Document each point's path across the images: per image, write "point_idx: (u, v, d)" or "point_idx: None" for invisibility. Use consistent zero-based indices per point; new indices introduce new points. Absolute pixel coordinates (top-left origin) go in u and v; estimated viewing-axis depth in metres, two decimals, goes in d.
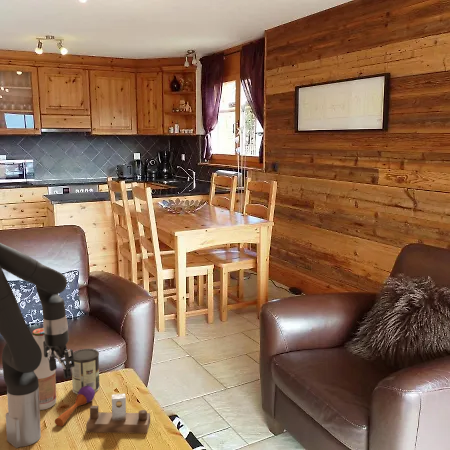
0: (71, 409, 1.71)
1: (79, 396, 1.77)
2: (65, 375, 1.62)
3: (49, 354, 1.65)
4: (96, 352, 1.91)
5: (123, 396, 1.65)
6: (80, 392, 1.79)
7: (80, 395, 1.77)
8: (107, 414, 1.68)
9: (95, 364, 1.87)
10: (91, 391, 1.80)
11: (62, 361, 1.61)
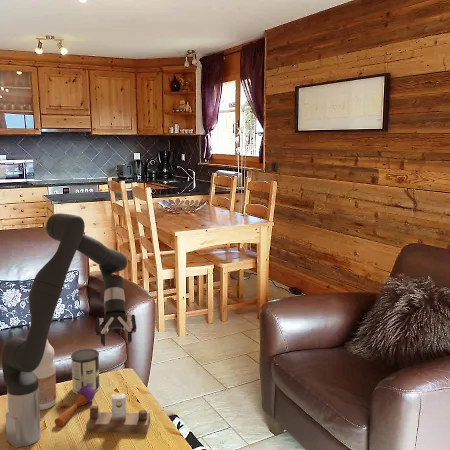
0: (71, 409, 1.71)
1: (79, 396, 1.77)
2: (129, 338, 1.75)
3: (108, 324, 1.75)
4: (96, 352, 1.91)
5: (123, 396, 1.65)
6: (80, 392, 1.79)
7: (80, 395, 1.77)
8: (107, 414, 1.68)
9: (95, 364, 1.87)
10: (91, 391, 1.80)
11: (127, 325, 1.77)
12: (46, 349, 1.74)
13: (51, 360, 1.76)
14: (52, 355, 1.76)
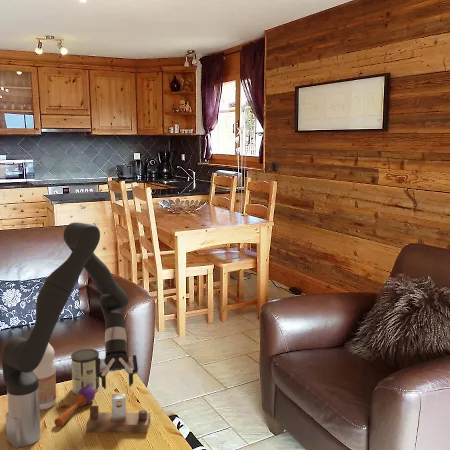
0: (71, 409, 1.71)
1: (79, 396, 1.77)
2: (131, 380, 1.71)
3: (109, 366, 1.71)
4: (96, 352, 1.91)
5: (123, 396, 1.65)
6: (80, 392, 1.79)
7: (80, 396, 1.77)
8: (107, 414, 1.68)
9: (95, 364, 1.87)
10: (92, 391, 1.80)
11: (128, 366, 1.73)
12: (46, 349, 1.74)
13: (51, 360, 1.76)
14: (52, 355, 1.76)
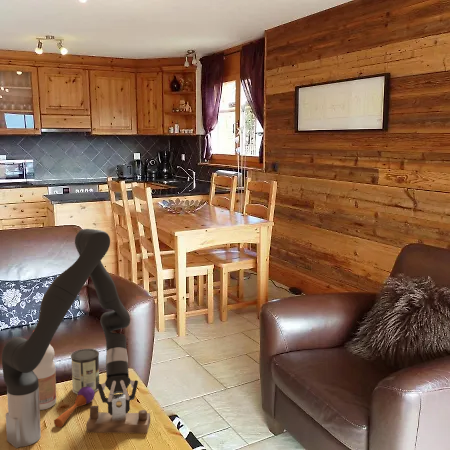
0: (70, 410, 1.71)
1: (79, 397, 1.77)
2: (127, 407, 1.64)
3: (112, 390, 1.66)
4: (96, 352, 1.91)
5: (123, 396, 1.65)
6: (80, 393, 1.79)
7: (80, 396, 1.77)
8: (107, 414, 1.68)
9: (95, 364, 1.87)
10: (91, 392, 1.80)
11: (127, 392, 1.67)
12: None
13: (51, 360, 1.76)
14: (52, 355, 1.76)
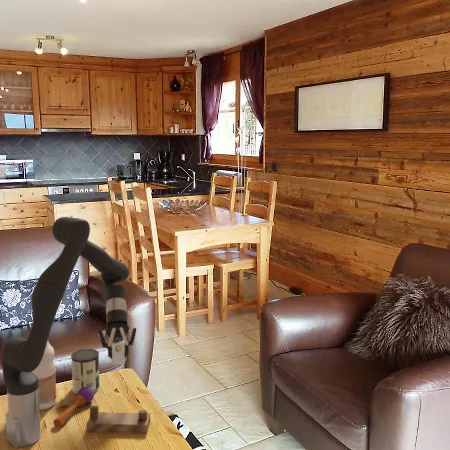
0: (70, 410, 1.71)
1: (78, 397, 1.77)
2: (126, 352, 1.74)
3: (112, 335, 1.76)
4: (96, 352, 1.91)
5: (122, 341, 1.75)
6: (79, 393, 1.79)
7: (79, 396, 1.77)
8: (107, 414, 1.68)
9: (95, 364, 1.87)
10: (91, 392, 1.80)
11: (126, 338, 1.77)
12: (46, 349, 1.74)
13: (51, 360, 1.76)
14: (52, 355, 1.76)
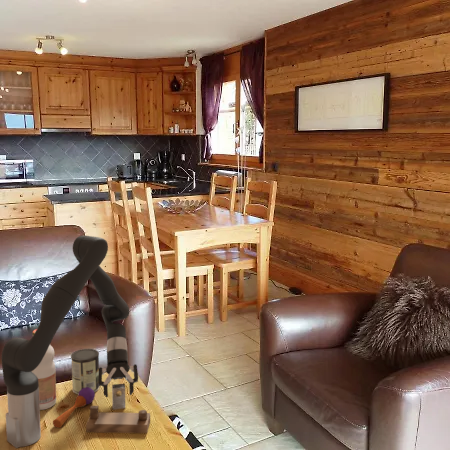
0: (70, 410, 1.71)
1: (79, 397, 1.76)
2: (131, 389, 1.78)
3: (110, 375, 1.79)
4: (96, 352, 1.91)
5: (123, 386, 1.78)
6: (80, 393, 1.79)
7: (80, 397, 1.77)
8: (107, 414, 1.68)
9: (95, 364, 1.87)
10: (91, 393, 1.79)
11: None
12: None
13: (51, 360, 1.76)
14: (52, 355, 1.76)
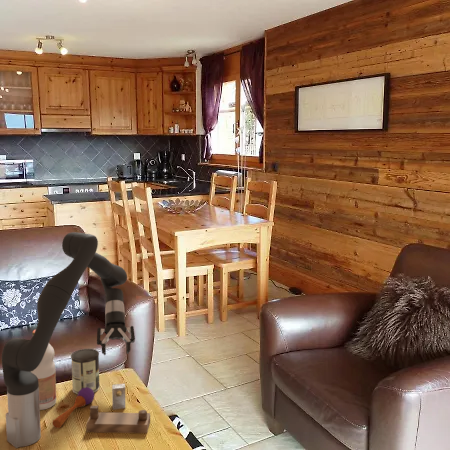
0: (69, 411, 1.70)
1: (78, 398, 1.76)
2: (128, 348, 1.88)
3: (108, 335, 1.89)
4: (96, 352, 1.91)
5: (123, 386, 1.78)
6: (79, 393, 1.78)
7: (80, 397, 1.76)
8: (107, 414, 1.68)
9: (95, 364, 1.87)
10: (91, 393, 1.79)
11: (126, 336, 1.91)
12: (46, 349, 1.74)
13: (51, 360, 1.76)
14: (52, 355, 1.76)
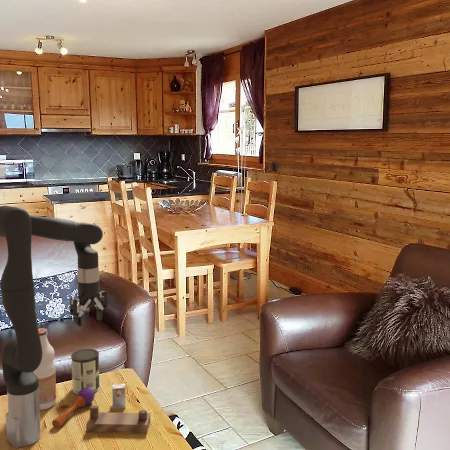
0: (69, 411, 1.70)
1: (78, 398, 1.76)
2: (101, 316, 1.80)
3: (85, 307, 1.73)
4: (96, 352, 1.91)
5: (123, 386, 1.78)
6: (79, 394, 1.78)
7: (79, 397, 1.76)
8: (107, 414, 1.68)
9: (95, 364, 1.87)
10: (91, 393, 1.79)
11: None
12: (46, 349, 1.74)
13: (51, 360, 1.76)
14: (52, 355, 1.76)
